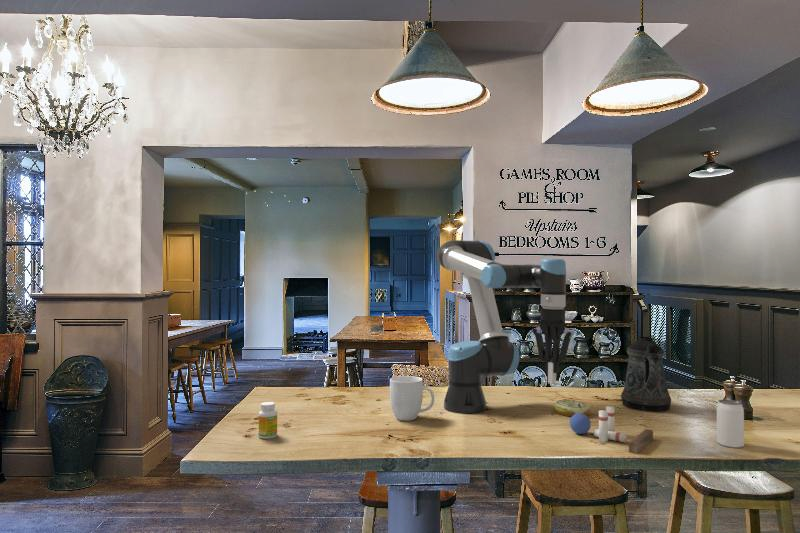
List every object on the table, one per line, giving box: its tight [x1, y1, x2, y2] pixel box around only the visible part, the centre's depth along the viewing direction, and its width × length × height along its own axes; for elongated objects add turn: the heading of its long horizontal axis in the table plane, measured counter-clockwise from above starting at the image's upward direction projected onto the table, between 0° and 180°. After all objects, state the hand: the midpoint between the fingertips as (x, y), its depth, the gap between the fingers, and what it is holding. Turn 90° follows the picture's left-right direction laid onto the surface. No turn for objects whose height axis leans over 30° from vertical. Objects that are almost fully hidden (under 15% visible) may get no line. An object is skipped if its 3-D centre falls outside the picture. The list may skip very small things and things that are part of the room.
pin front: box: [593, 428, 628, 443], centre depth 151 cm, size 2×2×8 cm
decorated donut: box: [553, 399, 591, 418], centre depth 179 cm, size 11×12×4 cm
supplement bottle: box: [258, 401, 278, 440], centre depth 154 cm, size 5×5×10 cm
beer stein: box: [620, 336, 672, 413], centre depth 188 cm, size 16×19×25 cm
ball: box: [569, 413, 592, 435], centre depth 156 cm, size 6×6×6 cm
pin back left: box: [605, 405, 616, 432], centre depth 154 cm, size 2×2×8 cm
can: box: [716, 399, 745, 449], centre depth 147 cm, size 6×6×12 cm
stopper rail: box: [628, 428, 654, 455], centre depth 146 cm, size 2×16×2 cm, turn 140°
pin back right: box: [598, 409, 609, 443], centre depth 150 cm, size 2×2×8 cm
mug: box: [389, 375, 435, 422], centre depth 173 cm, size 15×11×13 cm
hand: (551, 382), depth 163 cm, fingers closed
